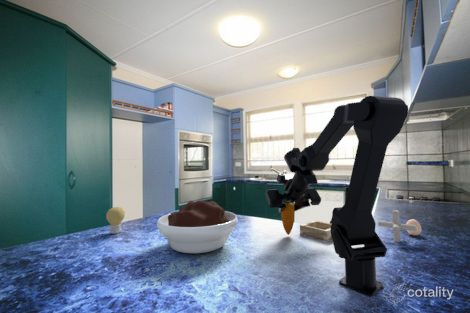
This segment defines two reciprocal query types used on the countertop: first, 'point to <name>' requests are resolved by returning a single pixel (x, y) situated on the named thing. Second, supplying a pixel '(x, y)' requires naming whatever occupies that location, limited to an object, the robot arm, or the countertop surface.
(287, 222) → the carrot
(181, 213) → the bowl of chocolate chunks
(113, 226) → the light bulb
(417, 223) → the egg
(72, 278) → the countertop surface
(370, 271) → the robot arm
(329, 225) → the socket block
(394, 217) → the pipe connector
